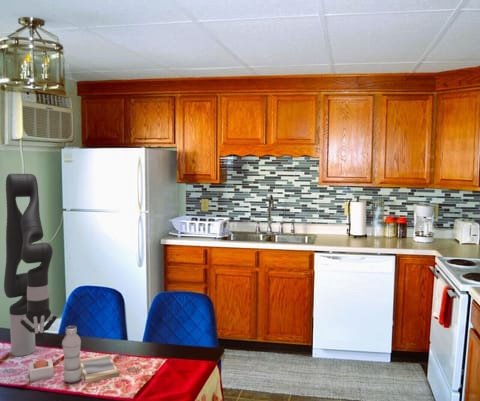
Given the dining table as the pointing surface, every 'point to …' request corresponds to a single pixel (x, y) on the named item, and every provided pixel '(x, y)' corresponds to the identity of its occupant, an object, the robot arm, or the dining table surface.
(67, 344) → the plastic bottle
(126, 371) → the dining table surface
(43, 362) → the button cap
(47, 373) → the button housing
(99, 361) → the board
